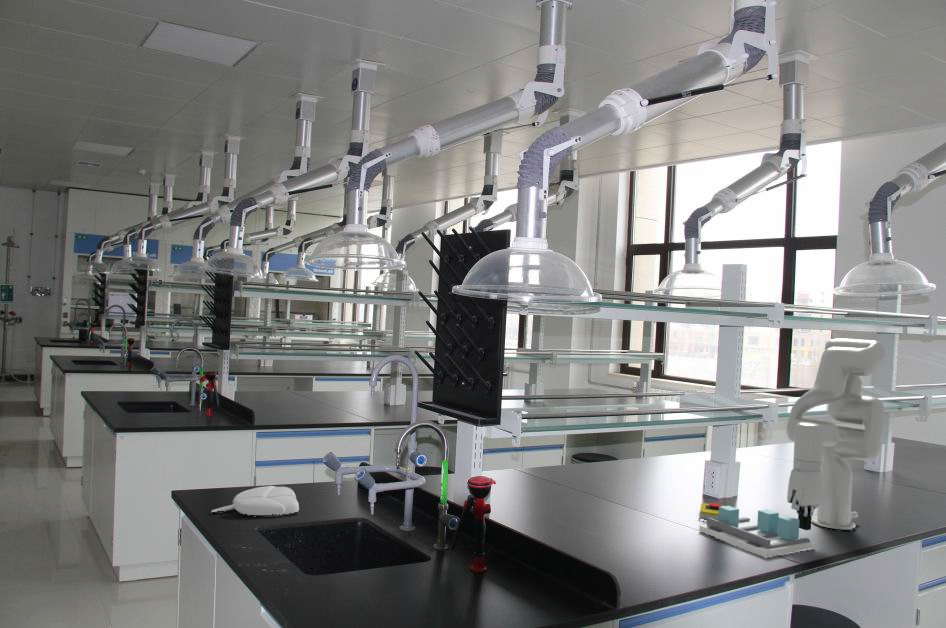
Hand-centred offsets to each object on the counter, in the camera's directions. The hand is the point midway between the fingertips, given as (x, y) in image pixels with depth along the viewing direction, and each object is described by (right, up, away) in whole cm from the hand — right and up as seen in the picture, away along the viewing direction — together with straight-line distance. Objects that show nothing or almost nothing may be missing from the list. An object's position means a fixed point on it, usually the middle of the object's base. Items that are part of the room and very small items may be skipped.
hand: (804, 528), depth 208 cm
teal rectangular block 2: (-6, -2, -3) cm, 7 cm away
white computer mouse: (-162, +2, +8) cm, 162 cm away
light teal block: (-9, -1, +3) cm, 10 cm away
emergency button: (-18, -4, +23) cm, 30 cm away
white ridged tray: (-14, -4, +1) cm, 14 cm away
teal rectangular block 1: (-20, -1, +5) cm, 21 cm away
